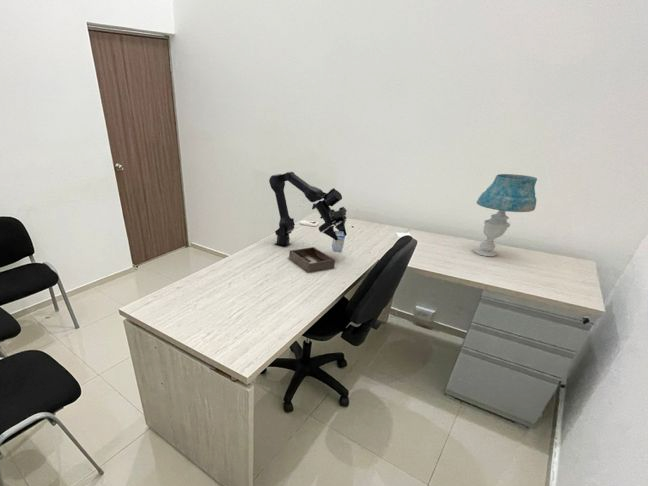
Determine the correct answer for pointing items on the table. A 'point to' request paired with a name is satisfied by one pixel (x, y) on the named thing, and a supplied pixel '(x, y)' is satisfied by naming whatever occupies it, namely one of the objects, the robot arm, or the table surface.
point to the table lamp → (505, 205)
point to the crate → (316, 254)
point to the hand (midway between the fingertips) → (341, 237)
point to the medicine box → (338, 242)
